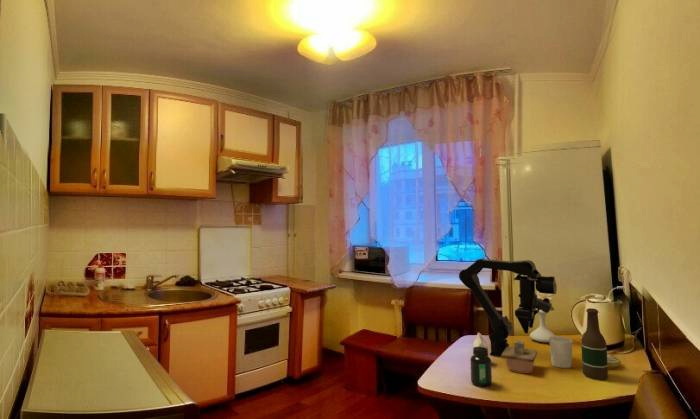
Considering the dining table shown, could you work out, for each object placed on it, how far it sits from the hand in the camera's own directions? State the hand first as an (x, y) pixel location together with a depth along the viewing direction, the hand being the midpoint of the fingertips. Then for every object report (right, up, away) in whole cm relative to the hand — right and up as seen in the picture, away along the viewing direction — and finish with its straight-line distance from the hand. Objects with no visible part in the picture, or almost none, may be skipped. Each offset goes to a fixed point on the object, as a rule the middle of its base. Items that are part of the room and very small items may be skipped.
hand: (528, 330), depth 152 cm
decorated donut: (+26, -12, -6) cm, 30 cm away
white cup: (+10, -12, -6) cm, 17 cm away
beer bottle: (+16, -11, -17) cm, 26 cm away
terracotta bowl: (-7, -12, -8) cm, 16 cm away
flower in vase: (+18, -13, +23) cm, 32 cm away
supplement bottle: (-27, -12, -21) cm, 36 cm away
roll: (-20, -13, -2) cm, 24 cm away
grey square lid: (-7, -7, -8) cm, 13 cm away
